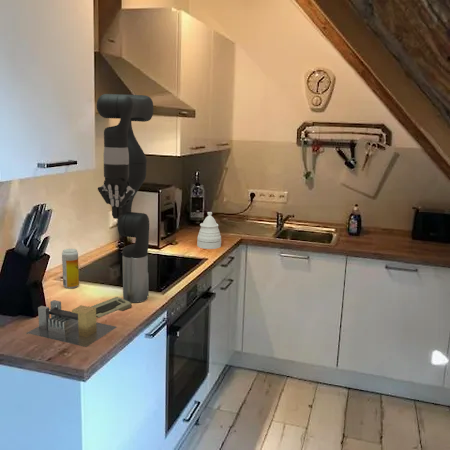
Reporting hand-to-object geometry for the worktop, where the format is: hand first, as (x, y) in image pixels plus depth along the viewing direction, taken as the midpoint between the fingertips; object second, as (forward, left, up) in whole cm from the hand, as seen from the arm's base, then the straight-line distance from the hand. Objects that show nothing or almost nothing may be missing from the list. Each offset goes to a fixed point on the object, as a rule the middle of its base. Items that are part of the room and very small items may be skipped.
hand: (117, 218), depth 156 cm
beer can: (-26, -40, -37) cm, 60 cm away
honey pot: (-111, -17, -37) cm, 118 cm away
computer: (-11, -12, -38) cm, 41 cm away
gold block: (+9, -7, -36) cm, 38 cm away
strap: (+9, -14, -31) cm, 35 cm away
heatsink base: (+9, -11, -37) cm, 40 cm away
